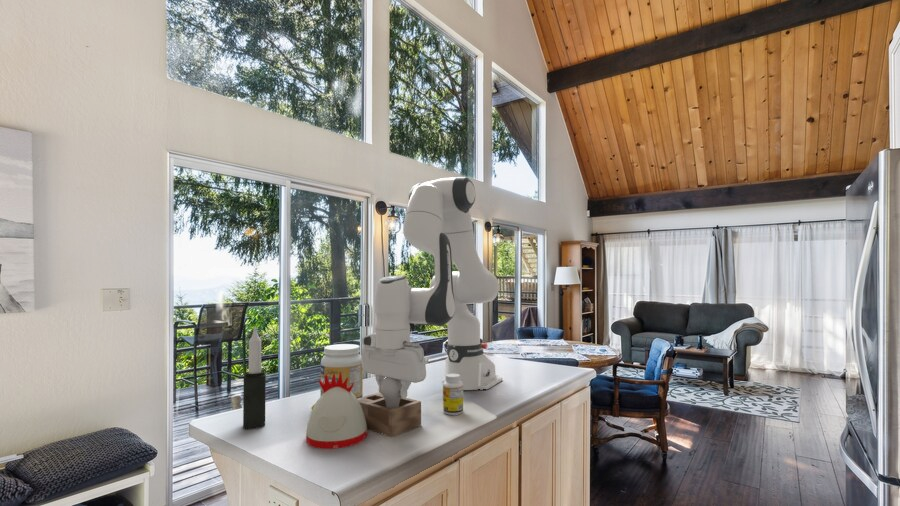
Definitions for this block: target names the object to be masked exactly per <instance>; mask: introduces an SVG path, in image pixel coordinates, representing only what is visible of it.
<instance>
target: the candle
mask: <svg viewBox="0 0 900 506" xmlns="http://www.w3.org/2000/svg"><path fill="white" fill-rule="evenodd" d="M257 329H258V328H257V327H256V326H254V327H253V332H252V334H251V337H250V339H249V340H248V371H246V372H245V373H244V375H243V402H242V403H243V405H242V407H243V408H242V409H243V411H242V412H243V413H242V416H243V418H242V419H243V420H242V430H253V429H261V428H264V427H266V391H267V390H266V386H267V385H266V380H267V378H266V377H267V375H266V372H265V371H264V370H262V339H261V338H260V336H259V332H258V330H257Z"/></svg>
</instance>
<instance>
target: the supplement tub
mask: <svg viewBox="0 0 900 506" xmlns="http://www.w3.org/2000/svg"><path fill="white" fill-rule="evenodd" d="M360 347H361V346H360V345H359V344H355V343H353V344H352V343H339V344H331V345H326V346H324V348H323V354H324V356H323V357H322V358H321V360H320V380H321V381H322V382H323V383H325V375H326V374H327V376H328V379H329V382H330V383H331V382H332V377H333V374H334V373H335V378H336V382H338V378H339V375H340V373H341V375H342V381H343V383H344V382H345V380H346V378H347V377H348V381H347V387H350V386H351V385H352V383H353V382H354V385H353V387H352V389H351V392H352V393H353V394H354V395H355V397H356V398H361V397H364V396H363V393H364V392H363V384H364V383H363V381H364V380H363V379H364V376H363V375H364V371H363V369H362V361H361V358H362V354H360V353H361V349H360ZM323 393H324V392H323V390H322V388H321V387H320V396H321V395H322V394H323Z"/></svg>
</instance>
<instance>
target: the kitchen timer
mask: <svg viewBox="0 0 900 506" xmlns="http://www.w3.org/2000/svg"><path fill="white" fill-rule="evenodd" d="M347 381H348V377H347V378H346V380H345V382H344V383H343V381H342V375H341V373H340V375H339V378H338V382H336V378H335V373H334V374H333V377H332V382H331V383H330V382H329V379H328V376H327V374H326V375H325V383H323V382H322V381H321V379H319V380H318V383H319V386H320V389H321V388H322V390H323V392H324V393H323V394H322V395H321V394H320V396H319V398H318V399H317V400H316V402H315V403H314V404H313V405H312V406H311V412H310V415H309V419H308V422H307V426H306V433H305V439H306V440H305V441H306V444H308V446H310V447H312V448H315V449H322V450H326V449H328V450H331V449H332V450H333V449H341V448H347V447H351V446H354V445H357V444H359V443H361V442H363V441H364V440H365V439H366V438H367V435H368V429H367V424H366V420H365V416H364V413H363V410H362V407H361V405H360V403H359V401H358V400H357V398H356V397H355V395H354V394H353V393H352V392H351V389H352V387H353V385H354V382H353V383H352V385H351V386H350V387H347Z"/></svg>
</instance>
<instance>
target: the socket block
mask: <svg viewBox="0 0 900 506" xmlns="http://www.w3.org/2000/svg"><path fill="white" fill-rule="evenodd" d="M357 400H358V401H359V403H360V405H361V407H362V410H363V413H364V416H365V420H366V424H367V430H369V431H372V432H376V433H378V432H379V434H381V433H383V434H382V435H384V434H385V435H384V436H388V437H391V438H394V437H396V436H398V435H401V434H403V433H406V432H409V431H411V430H413V429H416V428H418V427H420V426H421V427H422V401H421V400H416V399H412V398H409V397H406V398H401V399H400V403H399V407H397V408H394V409H391V408H387V407H386V402H385V399H384V397H383V395H382V393H380V392H379V391H378V392H375V393H371V394H368V395H365V396H363V397H361V398H357Z"/></svg>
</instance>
